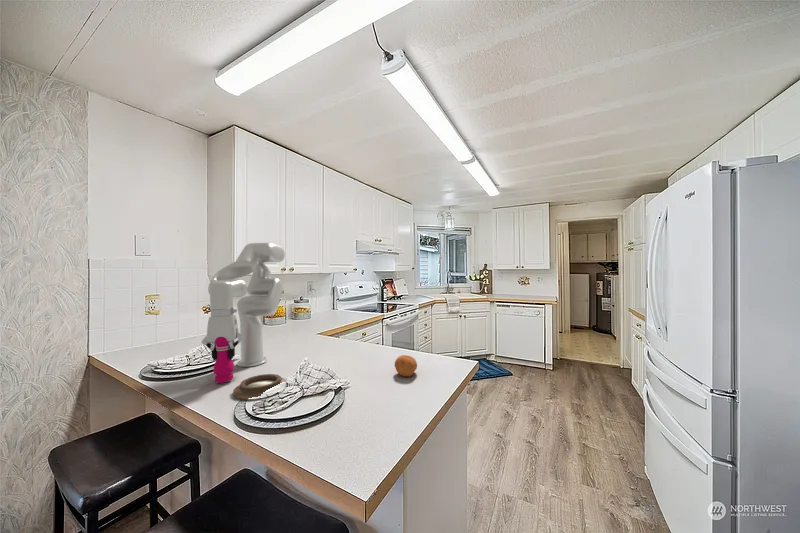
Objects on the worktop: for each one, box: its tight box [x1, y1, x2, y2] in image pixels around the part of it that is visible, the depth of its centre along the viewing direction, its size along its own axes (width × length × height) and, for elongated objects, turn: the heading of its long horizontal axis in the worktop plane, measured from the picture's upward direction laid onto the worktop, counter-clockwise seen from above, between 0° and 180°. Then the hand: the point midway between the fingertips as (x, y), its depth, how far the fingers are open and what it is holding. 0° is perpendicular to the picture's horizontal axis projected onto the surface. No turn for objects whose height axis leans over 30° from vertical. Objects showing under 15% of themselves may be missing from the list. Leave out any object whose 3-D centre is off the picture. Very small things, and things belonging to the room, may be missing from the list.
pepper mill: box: [212, 337, 235, 384], centre depth 118 cm, size 7×7×20 cm
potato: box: [394, 354, 418, 377], centre depth 123 cm, size 9×11×8 cm
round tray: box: [232, 373, 287, 401], centre depth 110 cm, size 18×18×3 cm
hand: (223, 358), depth 118 cm, fingers closed on pepper mill, 5 cm apart
